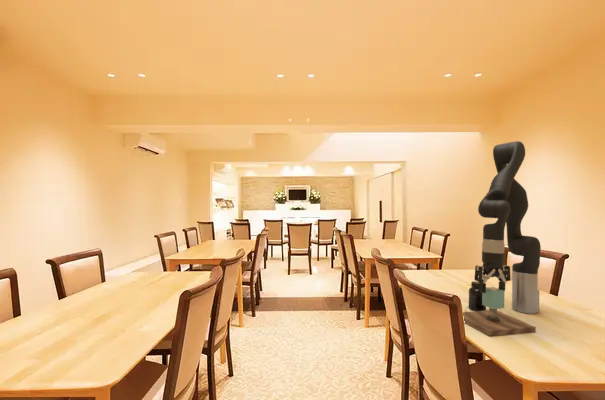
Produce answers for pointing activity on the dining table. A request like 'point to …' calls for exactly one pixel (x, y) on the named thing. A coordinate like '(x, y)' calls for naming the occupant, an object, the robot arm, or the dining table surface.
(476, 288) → the supplement bottle
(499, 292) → the green cube with circle
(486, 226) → the robot arm
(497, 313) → the brown wooden board
